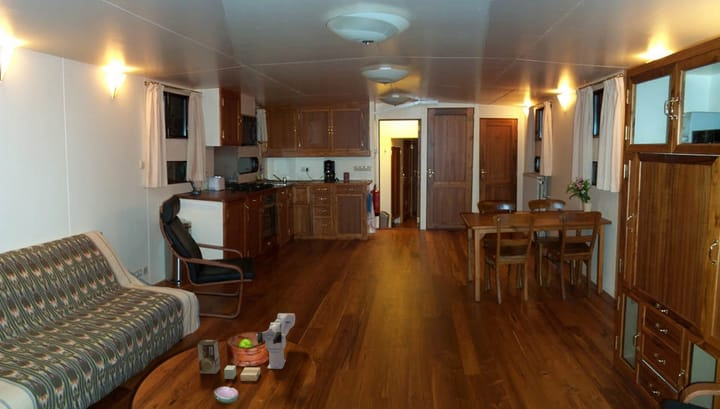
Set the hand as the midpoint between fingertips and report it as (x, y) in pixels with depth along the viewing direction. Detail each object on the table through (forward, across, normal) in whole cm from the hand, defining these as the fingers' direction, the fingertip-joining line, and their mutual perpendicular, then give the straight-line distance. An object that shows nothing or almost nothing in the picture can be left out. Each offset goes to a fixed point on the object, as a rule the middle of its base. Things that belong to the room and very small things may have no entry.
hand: (266, 341), depth 247 cm
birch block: (-8, -10, +22) cm, 25 cm away
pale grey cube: (-8, -21, +21) cm, 31 cm away
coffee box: (-14, -34, +21) cm, 42 cm away
